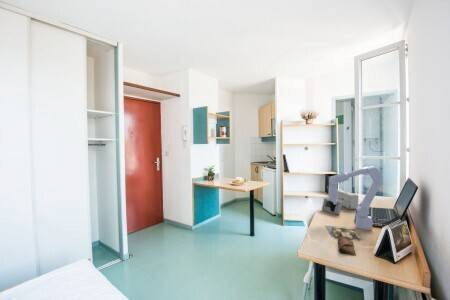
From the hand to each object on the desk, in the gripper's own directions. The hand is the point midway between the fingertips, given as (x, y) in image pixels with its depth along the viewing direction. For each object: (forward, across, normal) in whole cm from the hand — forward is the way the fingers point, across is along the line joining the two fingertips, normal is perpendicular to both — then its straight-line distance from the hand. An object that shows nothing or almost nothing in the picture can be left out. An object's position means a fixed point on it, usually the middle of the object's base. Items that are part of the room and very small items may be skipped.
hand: (332, 211), depth 161 cm
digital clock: (+10, -28, +6) cm, 30 cm away
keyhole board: (+9, +16, +3) cm, 18 cm away
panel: (+9, +21, +3) cm, 23 cm away
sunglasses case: (+10, +36, 0) cm, 37 cm away
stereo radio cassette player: (+10, -49, +23) cm, 55 cm away
